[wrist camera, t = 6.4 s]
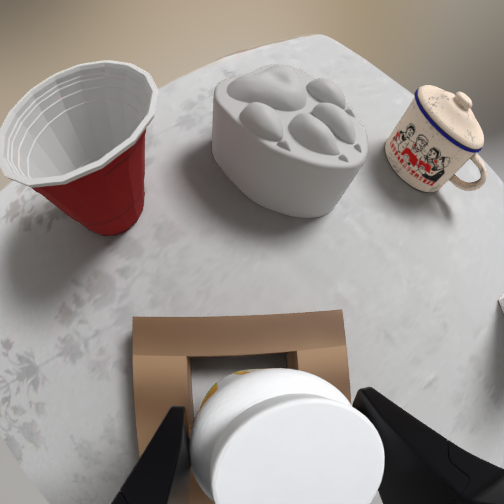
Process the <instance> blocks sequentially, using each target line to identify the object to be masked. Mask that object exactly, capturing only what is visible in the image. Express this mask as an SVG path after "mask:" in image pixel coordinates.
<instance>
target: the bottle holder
mask: <svg viewBox="0 0 504 504" xmlns="http://www.w3.org/2000/svg"><path fill="white" fill-rule="evenodd" d="M132 348H133V386H134V405H135V418H136V430H137V440H138V449H139V457H141V455H142V453H143V452H144V450H145V448H146V447H147V445H148V444H149V442H150V440H151V439H152V437H153V435H154V434H155V432H156V430H157V429H158V427H159V425H160V424H161V422H162V421H163V419H164V417H165V416H166V414H167V412H168V411H169V409H170V408H171V407H172V406H184V407H185V408H186V412H187V417H188V422H189V441H190V435H191V430H192V426H193V422H194V413H193V398H192V381H191V360H190V358H210V357H240V356H258V355H273V354H285V353H286V354H287V367H288V369H294V370H299V371H303V372H307V373H310V374H313V375H316V376H318V377H320V378H322V379H324V380H325V381H327V382H329V383H330V384H332V385H333V386H334V387H336V388H337V389H338V390H339V391H340V392H341V393H342V394H343V395H344V396H345V397H346V398H347V399H348V401H349V402H350V404H351V394H350V380H349V368H348V358H347V348H346V338H345V330H344V321H343V313H342V310H331V311H319V312H305V313H290V314H272V315H251V316H221V317H133V335H132ZM188 504H215V503H214V502H213V501H212V500H211V499H210V498H209V497H208V496H207V495H206V494H205V493H204V491H203V490H202V489H201V487H200V486H199V484H198V482H197V480H196V478H195V476H194V474H193V472H192V468H191V472H190V485H189V499H188Z"/></svg>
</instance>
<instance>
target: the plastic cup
mask: <svg viewBox="0 0 504 504" xmlns="http://www.w3.org/2000/svg"><path fill="white" fill-rule="evenodd" d="M158 93H159V90H158V88H157V86H156V84H155V83H154V81H153V79H152V77H151V75H150V74H149V73H148V72H146V71H144V70H142V69H141V68H139V67H137V66H135V65H134V64H131V63H125V62H118V61H109V60H105V61H98V62H90V63H84V64H79V65H76V66H74V67H71V68H68V69H66V70H63V71H61V72H58V73H56V74H54V75H52V76H50V77H49V78H47V79H46V80H44V81H42V82H41V83H40V84H38V85H37V86H35V87H34V88H32V89H31V90H29V91H28V92H27V93H26V94H25V95H24V96H23V97H22V99H20V101H19V102H18V103H17V104H16V105H15V106H14V107H13V108H12V109H11V110H10V112H9V113H8V115H7V117H6V119H5V121H4V123H3V125H2V127H1V129H0V168H1V169H2V171H3V173H4V175H5V176H6V177H8V178H9V179H11V180H14V181H16V182H19V183H21V184H24V185H26V186H29V187H31V188H32V189H33V190H35V191H36V192H38V193H40V194H42V195H43V196H44V197H45V198H47V199H48V200H49V201H50V202H52V203H53V204H54V205H55V206H57V207H58V208H59V209H61V210H62V211H63V212H64V213H66V214H67V215H68V216H70V217H71V218H72V219H74V220H75V221H78V222H80V223H81V224H82V225H84V226H85V227H86V228H87V229H89V230H90V231H93V232H95V233H98V234H101V235H103V236H109V235H117V234H120V233H122V232H124V231H126V230H128V229H129V228H130V227H131V226H132V225H133V224H134V223H135V222H137V220H138V218H139V216H140V214H141V213H142V211H143V206H144V196H145V193H144V175H145V133H146V127H147V126H148V125H149V123H150V122H151V121H152V119H153V117H154V114H155V109H156V103H157V98H158Z"/></svg>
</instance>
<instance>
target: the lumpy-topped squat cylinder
mask: <svg viewBox="0 0 504 504" xmlns="http://www.w3.org/2000/svg"><path fill="white" fill-rule="evenodd" d="M367 153H368V139H367V134H366V131H365V129H364V127H363V125H362V123H361V121H360V119H359V117H358V116H357V114H356V112H355V111H354V109H353V108H352V107H351V106H350V105H349V104H348V103H347V102H346V100H345V97H344V94H343V92H342V90H341V89H340V87H339V86H338V85H337V84H335V83H334V82H332V81H330V80H328V79H324V78H318V79H315V78H314V77H312V76H311V75H309V74H307V73H306V72H303V71H302V70H300V69H297V68H295V67H291V66H286V65H278V64H274V65H267V66H264V67H261V68H259V69H257V70H255V71H253V72H251V73H248V74H244V75H239V76H235V77H231V78H228V79H225V80H223V81H221V82H220V83H219V84H218V85H217V86H216V88H215V91H214V99H213V130H212V154H213V157H214V159H215V161H216V162H217V164H218V165H219V166H220V168H221V169H222V170H223V171H224V173H225V174H226V175H227V177H228V178H229V179H230V180H231V181H232V182H233V183H234V184H235V185H236V186H237V187H238V188H239V189H240V190H241V191H242V192H243V193H244V194H245V195H246V196H247V197H249V198H250V199H251V200H252V201H254V202H255V203H257V204H258V205H260V206H263V207H265V208H268V209H270V210H273V211H275V212H278V213H281V214H284V215H288V216H292V217H299V218H315V217H321V216H324V215H326V214H328V213H329V212H330V211H332V210H333V208H334V207H335V206H336V204H337V203H338V201H339V200H340V198H341V197H342V195H343V194H344V192H345V191H346V189H347V188H348V186H349V185H350V183H351V182H352V180H353V179H354V177H355V176H356V174H357V173H358V171H359V170H360V168H361V166H362V165H363V163H364V162H365V160H366V158H367Z"/></svg>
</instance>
